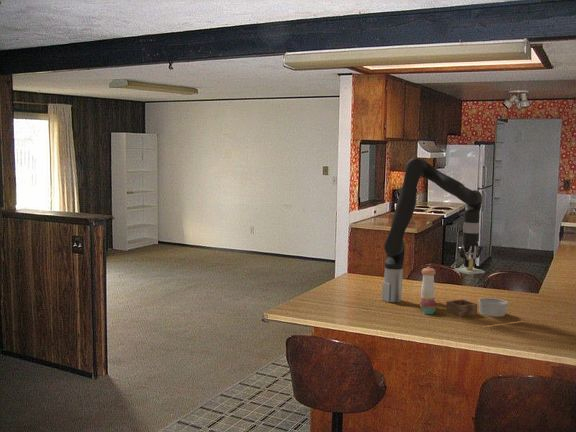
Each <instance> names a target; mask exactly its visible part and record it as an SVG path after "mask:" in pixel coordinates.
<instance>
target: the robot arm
mask: <svg viewBox="0 0 576 432" xmlns="http://www.w3.org/2000/svg"><path fill="white" fill-rule="evenodd" d="M420 178H424V179H426V180H429V181H431V182H432V183H434V184H435V185H437V186H438V187H439V188H440V189H442V190H443V191H445V192H446V193H449V194H450V195H452V196H453V197H456V198H457V199H458V200H460V201H461V202H463V203H465V204H466V205H467V206H466V210H465V211H464V216H463V217H464V219H463V226H462V227H463V229H462V241H463V243H462V245H461V246H458V247H457V250H458V253H459V256H460V259H463V267H464V268H466V267H469V260H468V259H469V258H473V268H475V265H476V260H477V259H478V258H480V255H481V252H482V250H483V246H481V245H479V241H480V218H481V217H480V212H481V208H482V202H483V195H482V193H481V192H480V191H478V190H476V189H474V190H472V189H470V188H469V187H466V186H465V185H464V184H463V183H462V182H461V181H460V180H459V181H458V180H457V179H455V178H453V177H451V176H449V175H447V174H446V173H443V172H442V171H440V170H438V169H436V168H435V167H434V166H432V165H431V164H430V163H429V162H428V161H426V160H425V159H424V158H420V157H413V158H410V160H409V161H408V162H407V163H406V166H405V172H404V177H403V182H402V186H401V189H400V192H399V196H398V199H397V200H396V201H397V202H396V206H395V209H394V213H393V218H392V222H391V227H390V230H389V232H388V234H387V238H386V240H385V242H384V251H385V253H386V256H385V257H386V258H385V262H384V275H383V276H384V278H383V279H384V280H383V282H382V290H381V291H382V292H381V300H382V301H384V302H387V303H400V302H402V300H403V299H402V296H403V294H402V293H403V274H404V273H403V272H404V270H403V269H404V263H405V251H406V250H405V248H406V246H405V245H406V244H405V241H404V237H405V233H406V230H407V228H408V226H409V224H410V223H411V222H410V221H411V220H412V217H413V215H414V212H415V208H416V205H417V204H416V203H417V187H418V184H419V181H420Z"/></svg>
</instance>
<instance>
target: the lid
mask: <svg viewBox="0 0 576 432" xmlns="http://www.w3.org/2000/svg"><path fill="white" fill-rule="evenodd" d="M468 260H469V267H459V268H458V267H456V268H454V271H455V272H458V273H462V274H466V275H476V274H477V275H479V274H485V272H486V271H485V270H482V269H478V268H475V267H473V258H471V257H469V259H468Z"/></svg>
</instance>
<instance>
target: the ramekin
mask: <svg viewBox="0 0 576 432" xmlns="http://www.w3.org/2000/svg"><path fill="white" fill-rule="evenodd" d="M508 306H509V302H508V301H506V300H503V299H501V298H500V299H499V298H495V297H494V298H493V297H482V298H479V299H478V309H479V314H481V315H483V316H487V317H495V318H498V317H499V318H500V317H505V316H506V315H507V314H506V313H507V308H508Z"/></svg>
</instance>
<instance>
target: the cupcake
mask: <svg viewBox="0 0 576 432" xmlns="http://www.w3.org/2000/svg"><path fill="white" fill-rule="evenodd" d="M419 307H420V308H421V309H422V310H421V311H422V314H425V315H433V314H435V312H436V310H437V309H438V308H439V305H438V302H436V300H435V301H434V300H430V299H428V297H427V291H426V299H425V300H423V301H421V303H420V302H419Z"/></svg>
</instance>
